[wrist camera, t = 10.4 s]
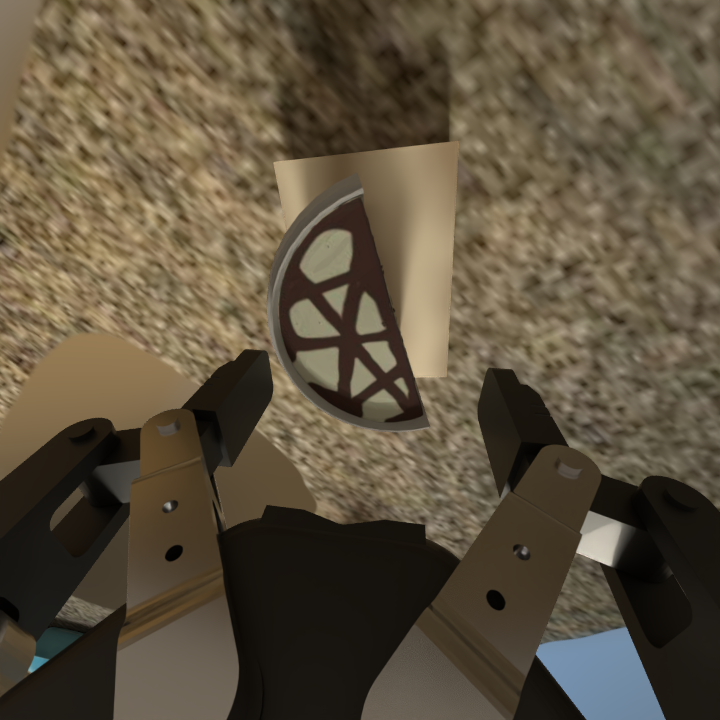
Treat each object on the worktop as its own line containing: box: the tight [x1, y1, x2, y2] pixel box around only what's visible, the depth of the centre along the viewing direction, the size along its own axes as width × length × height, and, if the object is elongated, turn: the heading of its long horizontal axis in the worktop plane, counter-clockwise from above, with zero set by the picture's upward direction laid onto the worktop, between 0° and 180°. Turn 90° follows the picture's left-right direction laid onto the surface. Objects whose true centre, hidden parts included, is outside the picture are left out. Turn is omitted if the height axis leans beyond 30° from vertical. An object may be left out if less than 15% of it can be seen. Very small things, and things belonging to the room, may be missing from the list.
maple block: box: [273, 141, 459, 377], centre depth 25 cm, size 11×16×5 cm
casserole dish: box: [28, 627, 84, 672], centre depth 86 cm, size 37×22×7 cm, turn 77°
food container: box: [267, 173, 430, 432], centre depth 18 cm, size 12×6×10 cm, turn 18°
